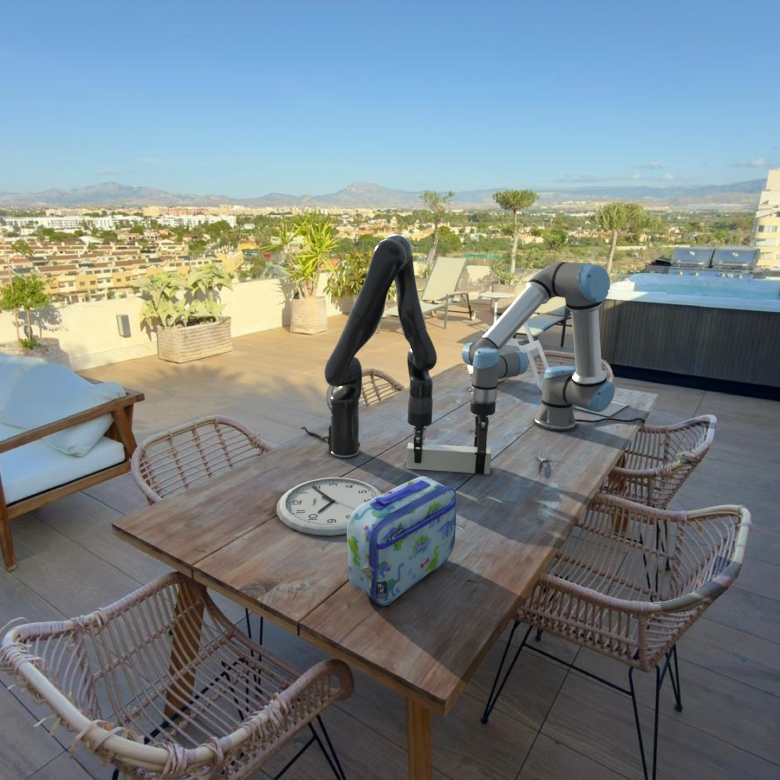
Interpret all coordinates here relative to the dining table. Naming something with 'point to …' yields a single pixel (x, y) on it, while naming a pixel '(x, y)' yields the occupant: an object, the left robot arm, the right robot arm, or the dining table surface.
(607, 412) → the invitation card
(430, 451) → the beam
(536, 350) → the white plastic object
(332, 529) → the wall clock
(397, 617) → the dining table surface
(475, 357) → the right robot arm
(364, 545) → the lunch box
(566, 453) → the dining table surface
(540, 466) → the fork
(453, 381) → the dining table surface
